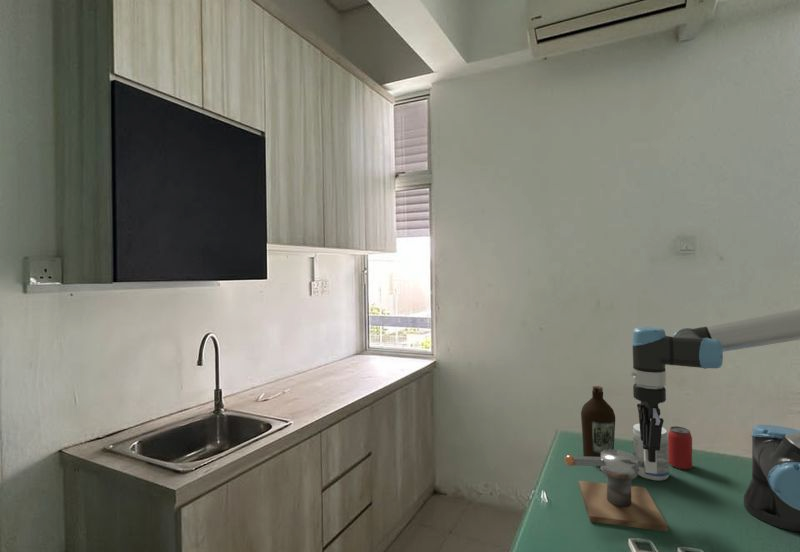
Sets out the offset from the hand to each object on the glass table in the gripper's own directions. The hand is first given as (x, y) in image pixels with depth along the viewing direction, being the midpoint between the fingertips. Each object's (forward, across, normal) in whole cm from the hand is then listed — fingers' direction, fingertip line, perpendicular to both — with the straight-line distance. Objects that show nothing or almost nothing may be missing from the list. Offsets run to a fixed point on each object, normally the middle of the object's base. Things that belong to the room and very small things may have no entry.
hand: (650, 471), depth 112 cm
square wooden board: (+11, -1, -8) cm, 13 cm away
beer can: (+11, -30, +18) cm, 36 cm away
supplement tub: (+11, -22, +7) cm, 25 cm away
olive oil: (+11, -29, -7) cm, 32 cm away
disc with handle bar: (+1, -1, -9) cm, 9 cm away
